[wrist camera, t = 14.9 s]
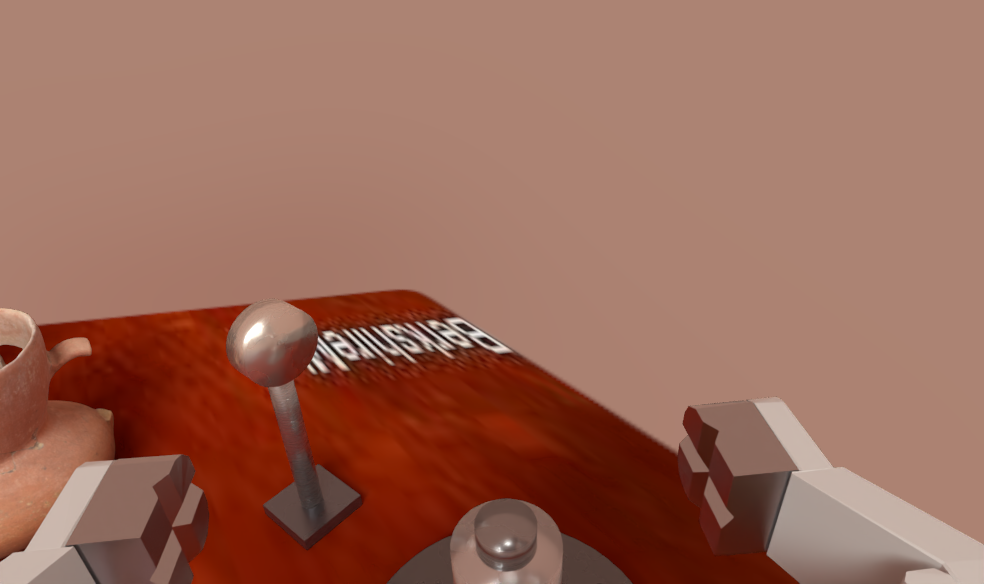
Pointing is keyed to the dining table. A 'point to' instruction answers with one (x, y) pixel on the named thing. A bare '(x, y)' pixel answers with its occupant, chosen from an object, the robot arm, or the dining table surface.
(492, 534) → the capped metal canister
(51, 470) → the ceramic jug
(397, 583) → the disc
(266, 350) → the metal joystick
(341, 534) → the dining table surface
